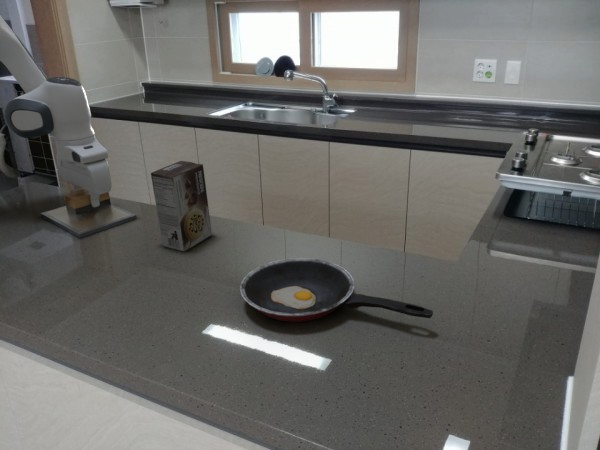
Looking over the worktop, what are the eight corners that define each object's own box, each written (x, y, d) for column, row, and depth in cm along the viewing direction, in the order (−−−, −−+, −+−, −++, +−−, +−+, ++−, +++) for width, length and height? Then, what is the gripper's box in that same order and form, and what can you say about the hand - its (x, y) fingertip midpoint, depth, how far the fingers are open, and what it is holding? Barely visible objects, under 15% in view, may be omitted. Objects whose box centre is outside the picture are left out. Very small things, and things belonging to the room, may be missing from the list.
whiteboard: (41, 217, 130) (40, 212, 129) (95, 200, 139) (94, 196, 139) (80, 238, 117) (79, 233, 117) (136, 218, 126) (136, 214, 126)
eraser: (66, 210, 130) (63, 194, 129) (101, 199, 136) (98, 184, 135) (76, 214, 127) (72, 199, 126) (111, 204, 133) (108, 188, 132)
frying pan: (278, 265, 101) (277, 247, 100) (447, 303, 87) (449, 283, 85) (218, 314, 86) (216, 294, 85) (411, 370, 72) (412, 347, 70)
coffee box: (190, 230, 119) (181, 159, 112) (213, 235, 116) (204, 163, 109) (160, 246, 112) (149, 172, 105) (184, 252, 108) (173, 176, 102)
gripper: (45, 144, 131) (57, 198, 136) (85, 158, 118) (97, 216, 123) (70, 139, 135) (81, 191, 140) (111, 151, 122) (121, 208, 127)
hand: (89, 203), depth 131 cm, fingers closed on eraser, 5 cm apart
